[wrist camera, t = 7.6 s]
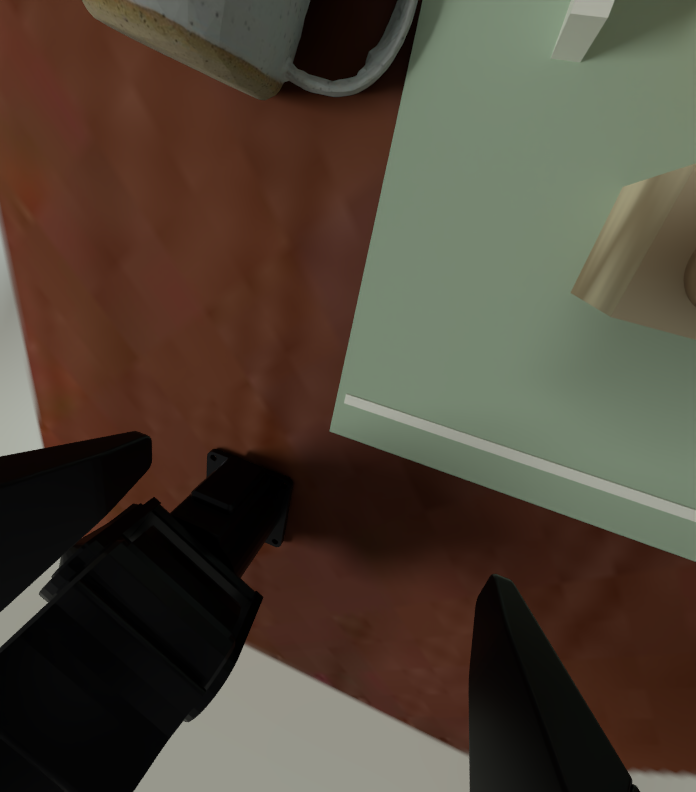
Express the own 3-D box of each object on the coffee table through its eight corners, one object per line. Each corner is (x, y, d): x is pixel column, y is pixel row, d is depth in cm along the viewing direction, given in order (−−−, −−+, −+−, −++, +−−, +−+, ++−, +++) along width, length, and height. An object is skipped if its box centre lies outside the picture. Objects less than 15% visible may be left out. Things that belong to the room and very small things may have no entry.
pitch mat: (736, 571, 18) (743, 579, 18) (331, 428, 22) (329, 431, 22) (1732, -374, 7) (1821, -417, 6) (494, -317, 11) (495, -341, 10)
